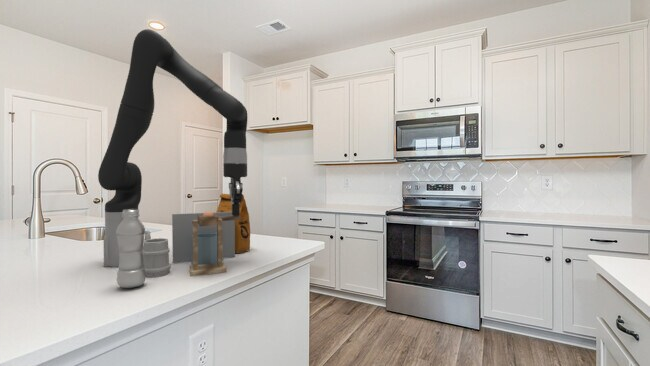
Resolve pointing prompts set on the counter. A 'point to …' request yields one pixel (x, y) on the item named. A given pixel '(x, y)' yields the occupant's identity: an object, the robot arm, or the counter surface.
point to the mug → (155, 256)
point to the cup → (206, 248)
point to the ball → (208, 214)
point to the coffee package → (238, 223)
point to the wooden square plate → (214, 220)
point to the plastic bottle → (131, 250)
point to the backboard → (184, 231)
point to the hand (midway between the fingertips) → (235, 215)
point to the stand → (220, 265)
